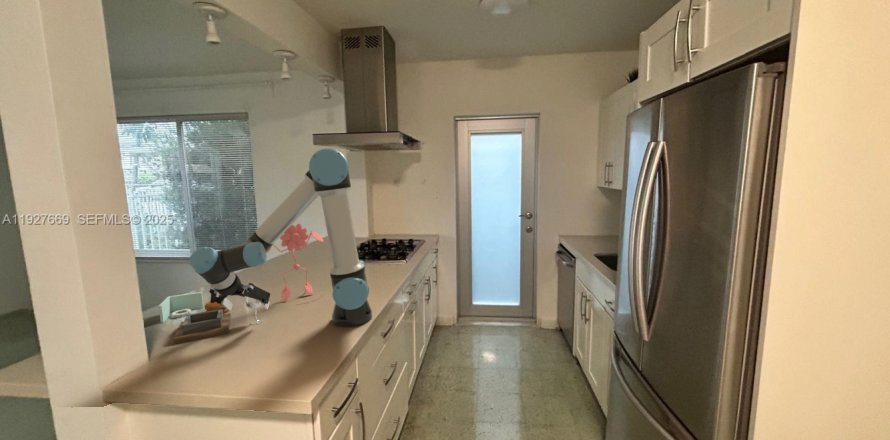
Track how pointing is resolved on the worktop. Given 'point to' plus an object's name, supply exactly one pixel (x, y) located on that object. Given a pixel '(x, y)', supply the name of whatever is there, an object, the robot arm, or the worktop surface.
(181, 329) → the socket base
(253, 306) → the wineglass
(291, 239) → the figurine
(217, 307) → the burger
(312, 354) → the worktop surface
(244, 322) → the worktop surface
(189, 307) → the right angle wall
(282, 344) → the worktop surface
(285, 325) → the worktop surface
